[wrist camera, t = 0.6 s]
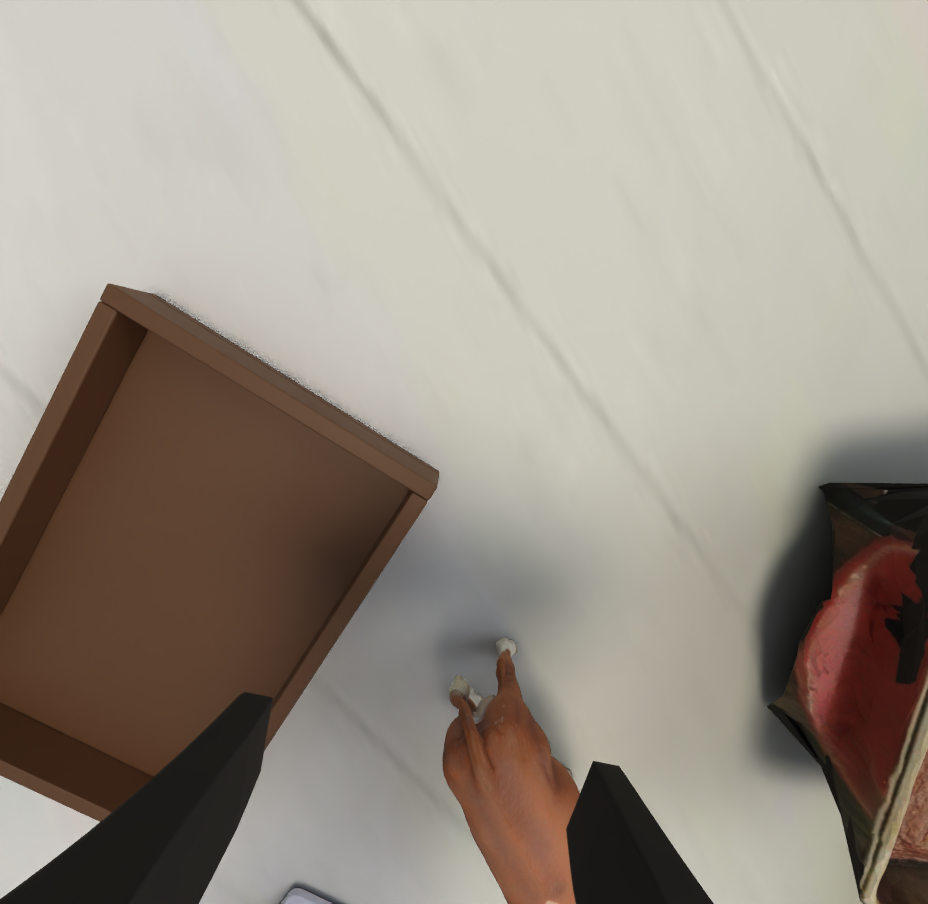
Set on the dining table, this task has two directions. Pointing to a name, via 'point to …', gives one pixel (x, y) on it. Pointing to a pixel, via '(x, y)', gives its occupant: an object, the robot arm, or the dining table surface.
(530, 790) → the bull figurine
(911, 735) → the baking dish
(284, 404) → the walnut tray
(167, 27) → the dining table surface
